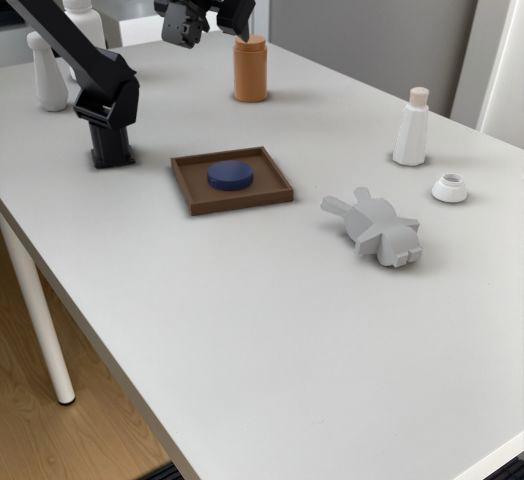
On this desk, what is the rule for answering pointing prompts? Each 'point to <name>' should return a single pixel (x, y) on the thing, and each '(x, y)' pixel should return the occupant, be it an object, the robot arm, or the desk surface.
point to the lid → (230, 175)
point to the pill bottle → (85, 22)
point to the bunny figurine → (377, 228)
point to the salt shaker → (47, 75)
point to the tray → (213, 200)
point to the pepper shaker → (413, 130)
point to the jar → (250, 69)
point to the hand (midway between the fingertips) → (227, 35)
